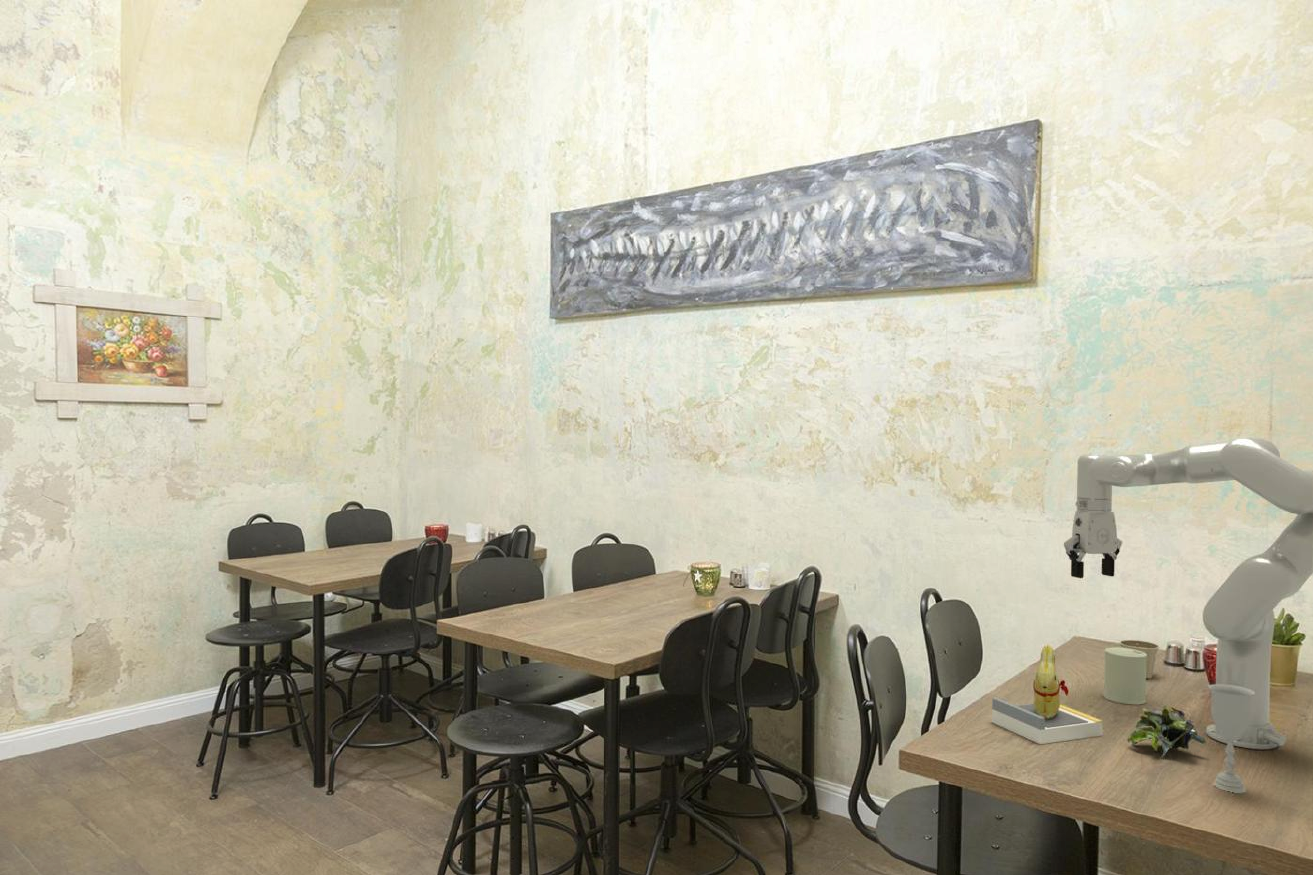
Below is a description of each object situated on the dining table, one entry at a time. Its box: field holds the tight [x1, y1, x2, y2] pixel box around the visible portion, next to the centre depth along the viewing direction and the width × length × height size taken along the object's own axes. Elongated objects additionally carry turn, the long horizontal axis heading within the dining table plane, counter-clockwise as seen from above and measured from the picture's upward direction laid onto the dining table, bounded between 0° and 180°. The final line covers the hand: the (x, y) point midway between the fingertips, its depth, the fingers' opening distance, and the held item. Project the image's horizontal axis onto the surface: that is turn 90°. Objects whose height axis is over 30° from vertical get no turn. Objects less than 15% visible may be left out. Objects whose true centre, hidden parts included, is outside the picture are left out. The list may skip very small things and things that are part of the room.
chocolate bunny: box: [1032, 644, 1069, 719], centre depth 187 cm, size 7×11×15 cm, turn 150°
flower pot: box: [1118, 639, 1160, 680], centre depth 230 cm, size 9×9×9 cm
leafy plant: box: [1126, 705, 1207, 760], centre depth 174 cm, size 11×11×12 cm
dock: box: [991, 697, 1103, 745], centre depth 187 cm, size 14×17×5 cm
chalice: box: [1207, 683, 1255, 794], centre depth 157 cm, size 7×7×18 cm
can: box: [1102, 646, 1147, 706], centre depth 210 cm, size 9×9×12 cm
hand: (1092, 576), depth 207 cm, fingers open, 9 cm apart
